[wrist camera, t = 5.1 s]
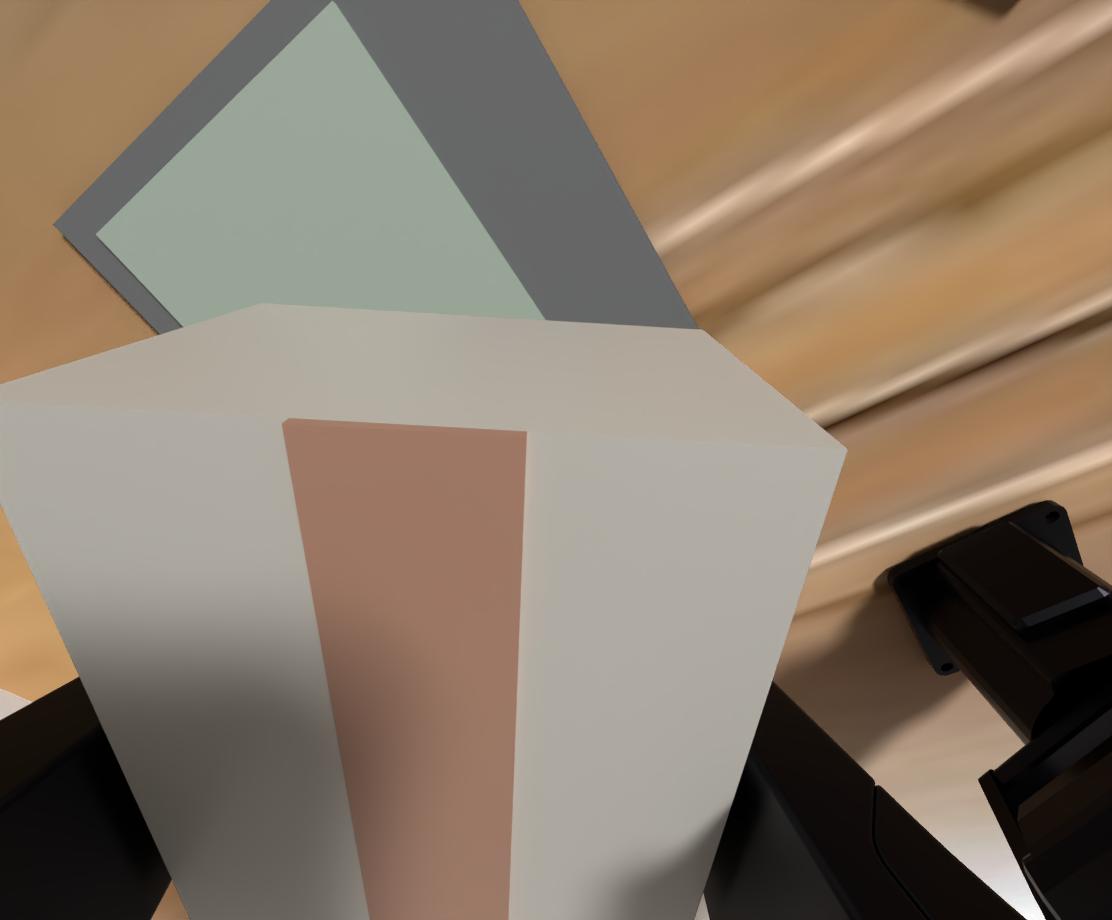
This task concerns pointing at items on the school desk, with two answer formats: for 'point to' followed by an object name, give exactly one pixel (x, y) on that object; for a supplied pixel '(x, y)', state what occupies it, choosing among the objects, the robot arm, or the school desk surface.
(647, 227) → the school desk surface
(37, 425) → the card deck
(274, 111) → the mat
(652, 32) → the school desk surface
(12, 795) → the robot arm
